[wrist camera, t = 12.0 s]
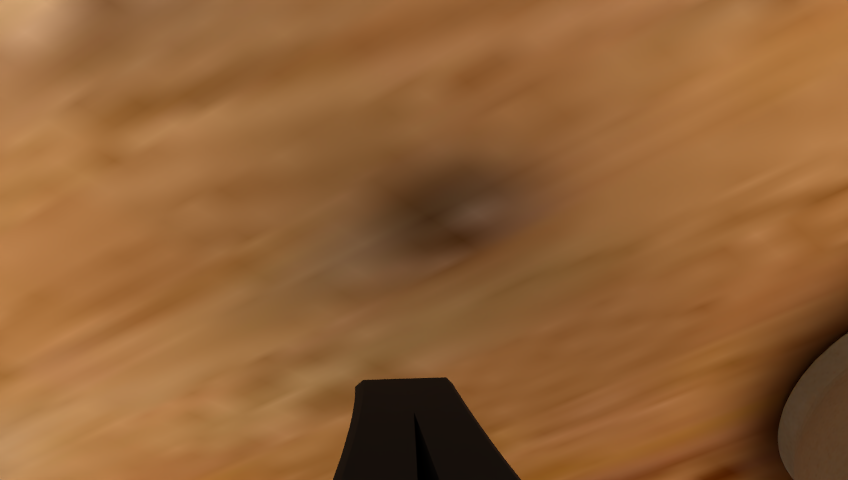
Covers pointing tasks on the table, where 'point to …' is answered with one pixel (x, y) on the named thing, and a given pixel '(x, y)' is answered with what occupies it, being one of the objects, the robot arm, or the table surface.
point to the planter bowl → (818, 419)
